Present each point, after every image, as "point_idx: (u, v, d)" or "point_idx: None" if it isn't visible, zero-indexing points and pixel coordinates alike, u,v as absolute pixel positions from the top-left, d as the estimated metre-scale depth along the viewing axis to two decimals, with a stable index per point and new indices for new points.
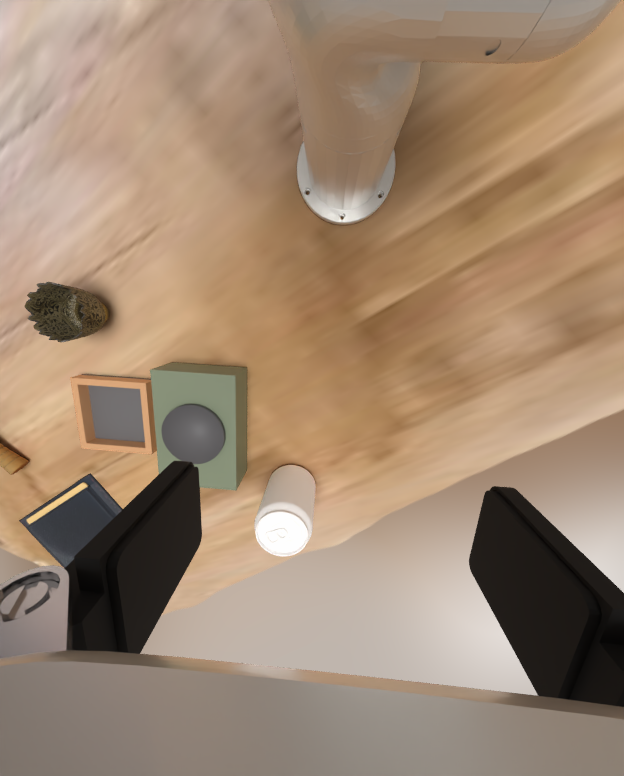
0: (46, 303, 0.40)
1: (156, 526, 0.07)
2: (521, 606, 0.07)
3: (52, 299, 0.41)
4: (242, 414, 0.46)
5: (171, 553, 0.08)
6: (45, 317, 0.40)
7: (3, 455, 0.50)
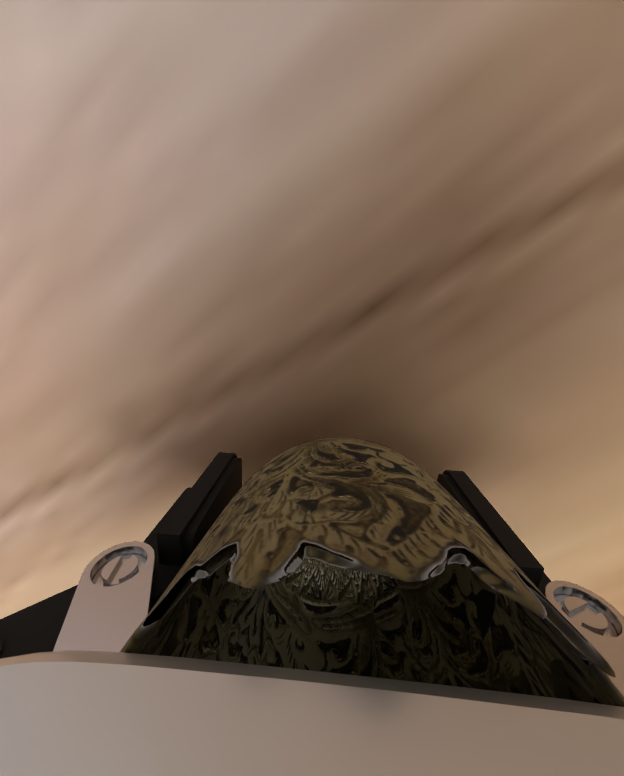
0: None
1: (215, 510, 0.08)
2: None
3: None
4: None
5: None
6: (191, 646, 0.06)
7: None
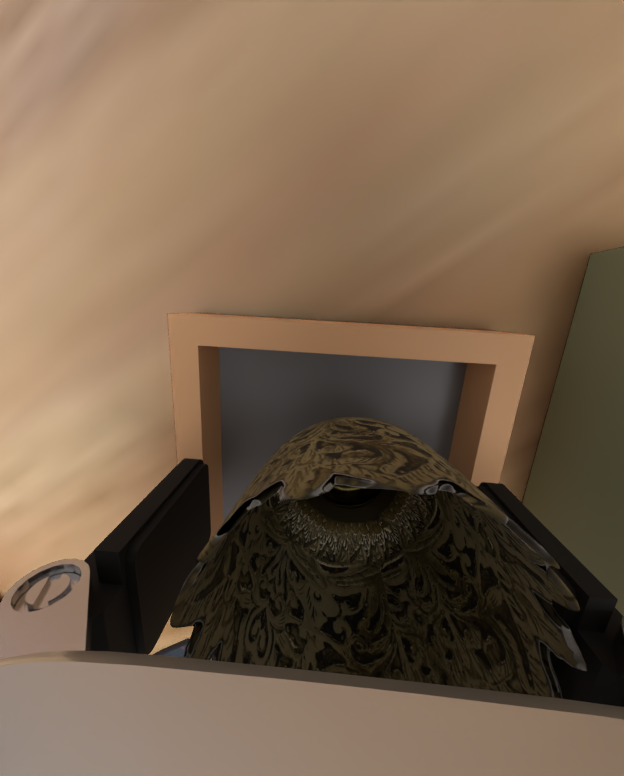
0: None
1: (170, 521, 0.07)
2: None
3: None
4: None
5: (183, 548, 0.08)
6: (232, 582, 0.08)
7: None
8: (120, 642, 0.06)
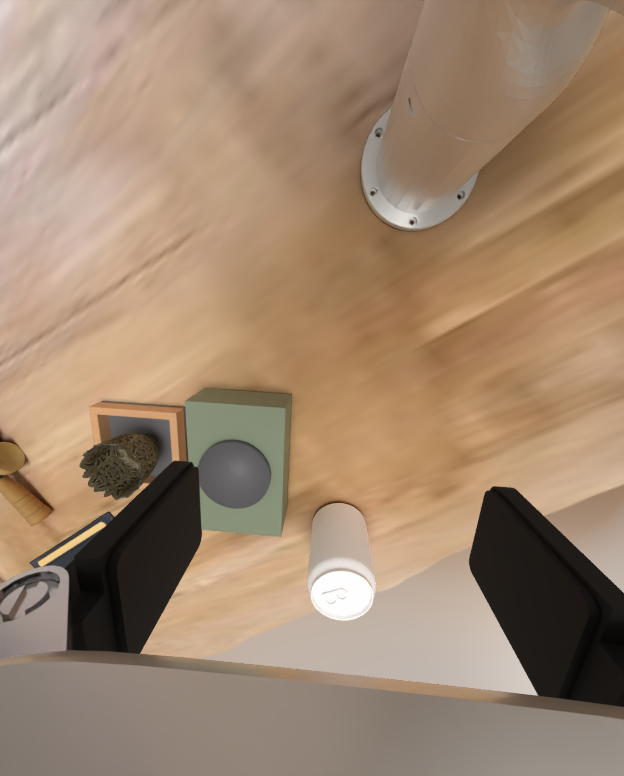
0: (99, 453, 0.37)
1: (156, 526, 0.07)
2: (521, 606, 0.07)
3: (105, 447, 0.38)
4: (287, 448, 0.40)
5: (171, 553, 0.08)
6: (97, 467, 0.38)
7: (28, 505, 0.45)
8: None
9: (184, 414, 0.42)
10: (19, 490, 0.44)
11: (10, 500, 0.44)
